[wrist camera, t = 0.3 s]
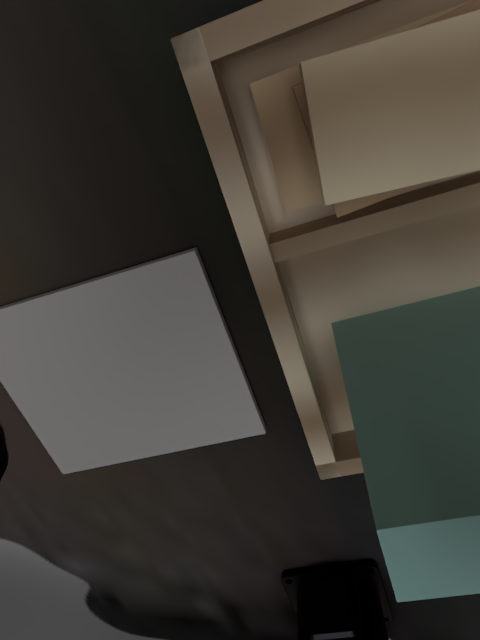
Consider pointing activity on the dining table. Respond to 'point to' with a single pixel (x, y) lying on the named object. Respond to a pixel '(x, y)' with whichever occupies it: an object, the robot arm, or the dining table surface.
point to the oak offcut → (298, 129)
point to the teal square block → (420, 437)
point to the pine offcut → (396, 109)
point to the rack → (321, 206)
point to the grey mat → (127, 366)
